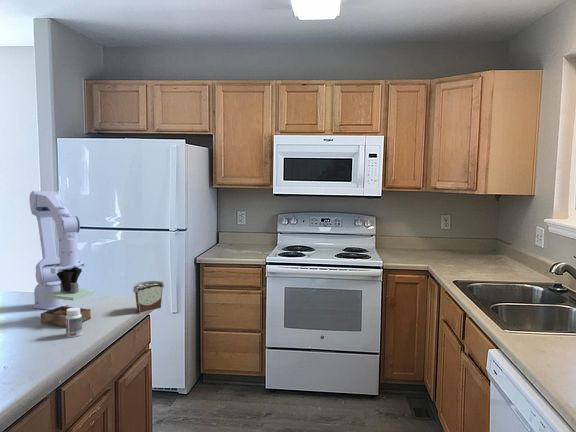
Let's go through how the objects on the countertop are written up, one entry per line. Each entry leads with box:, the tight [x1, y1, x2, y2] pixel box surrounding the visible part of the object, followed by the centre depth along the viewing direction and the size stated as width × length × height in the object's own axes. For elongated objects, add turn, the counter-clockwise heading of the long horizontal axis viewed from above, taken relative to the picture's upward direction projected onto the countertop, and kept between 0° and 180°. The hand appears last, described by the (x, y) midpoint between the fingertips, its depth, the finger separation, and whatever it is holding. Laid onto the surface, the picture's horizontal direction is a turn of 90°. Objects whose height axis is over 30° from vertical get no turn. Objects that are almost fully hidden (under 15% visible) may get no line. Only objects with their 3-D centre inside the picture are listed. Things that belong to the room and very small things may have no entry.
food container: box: [132, 280, 165, 314], centre depth 181 cm, size 12×6×10 cm, turn 141°
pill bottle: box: [65, 306, 83, 338], centre depth 152 cm, size 5×5×8 cm
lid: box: [43, 282, 96, 302], centre depth 167 cm, size 13×11×4 cm
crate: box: [40, 305, 92, 328], centre depth 165 cm, size 12×10×4 cm
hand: (69, 290), depth 167 cm, fingers closed on lid, 2 cm apart
